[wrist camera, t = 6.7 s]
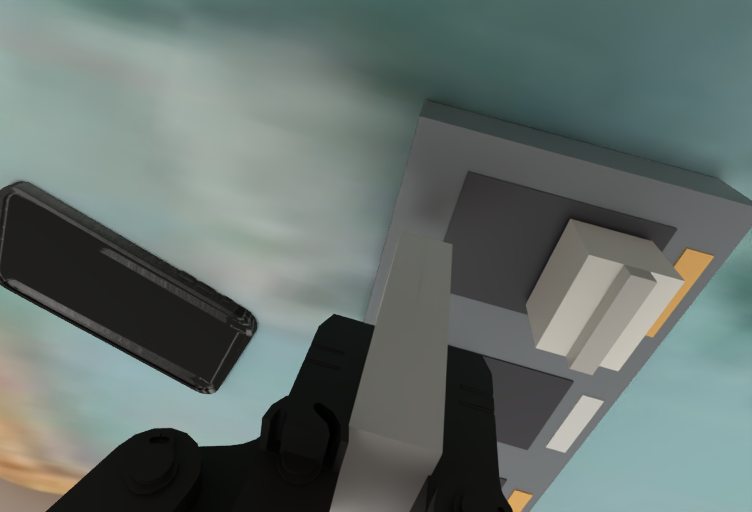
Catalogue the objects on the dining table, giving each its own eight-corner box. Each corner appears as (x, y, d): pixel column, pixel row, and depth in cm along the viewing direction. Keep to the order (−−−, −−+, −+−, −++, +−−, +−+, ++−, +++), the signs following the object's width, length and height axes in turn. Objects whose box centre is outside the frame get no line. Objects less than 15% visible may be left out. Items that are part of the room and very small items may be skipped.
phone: (211, 399, 28) (-13, 279, 26) (219, 386, 29) (4, 269, 27) (259, 326, 24) (-1, 176, 22) (266, 313, 25) (18, 169, 23)
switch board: (425, 99, 17) (419, 116, 15) (718, 178, 17) (766, 211, 14) (329, 451, 30) (317, 494, 27) (497, 500, 30) (501, 549, 27)
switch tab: (570, 218, 15) (594, 264, 13) (652, 241, 15) (694, 292, 13) (525, 304, 18) (538, 359, 15) (597, 324, 17) (623, 384, 15)
